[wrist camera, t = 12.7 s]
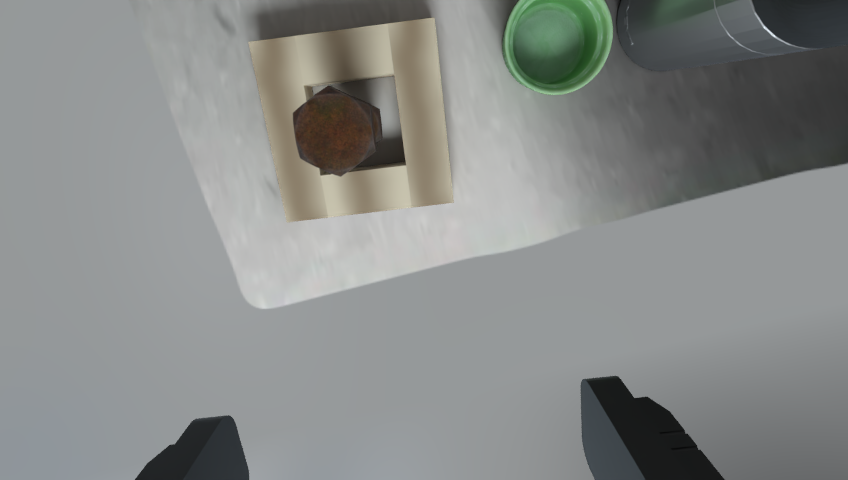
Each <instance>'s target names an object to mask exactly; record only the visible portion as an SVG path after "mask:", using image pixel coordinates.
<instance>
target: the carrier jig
mask: <svg viewBox="0 0 848 480" xmlns="http://www.w3.org/2000/svg"><path fill="white" fill-rule="evenodd" d="M248 43H249V47H250V52H251V57H252V61H253V66H254V71H255V75H256V80H257V85H258V89H259V94H260V99H261V103H262V108H263V113H264V117H265V122H266V127H267V131H268V136H269V141H270V145H271V150H272V155H273V160H274V164H275V169H276V174H277V178H278V183H279V188H280V192H281V197H282V202H283V206H284V211H285V216H286V220H287V222H294V221H302V220H311V219H319V218H328V217H336V216H344V215H353V214H361V213H370V212H378V211H387V210H395V209H403V208H412V207H420V206H429V205H437V204H446V203H454V200H453V191H452V181H451V171H450V162H449V152H448V143H447V133H446V123H445V114H444V104H443V94H442V85H441V75H440V65H439V56H438V46H437V37H436V27H435V17H433V18H426V19H418V20H411V21H403V22H395V23H388V24H380V25H373V26H365V27H358V28H350V29H343V30H335V31H327V32H320V33H312V34H305V35H297V36H290V37H282V38H275V39H267V40H259V41H252V42H248ZM390 76H394V77H395V85H396V92H397V100H398V107H399V115H400V123H401V130H402V138H403V145H404V153H405V161H406V162H399V163H390V164H382V165H374V166H366V167H358V168H353V169H351V170H350V171H349V172H347V173H346V174H344V175H343V176H341V177H339V176H337V175H334V174H331V173H329V172H326V171H324V170H322V169H319V168H317V167H315V166H313V165H311V164H309V163H307V162H305V161H304V160H302V159H300V157H299V153H298V150H297V146H296V141H295V134H294V126H293V112H294V111H295V110H297V109H298V108H299V107H300V106H301V105H302V104H304V103H305V102H306V101H307V100H309V99H310V98H311V97H313V91H312V86H320V85H328V84H336V83H343V82H351V81H359V80H367V79H374V78H382V77H390Z"/></svg>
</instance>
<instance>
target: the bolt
mask: <svg viewBox="0 0 848 480" xmlns="http://www.w3.org/2000/svg"><path fill="white" fill-rule="evenodd" d="M293 126H294V134H295V141H296V146H297V150H298V153H299V157H300V159H302V160H304V161H305V162H307V163H309V164H311V165H313V166H315V167H317V168H319V169H322V170H324V171H326V172H329V173H331V174H334V175H337V176H339V177H341V176H343V175H344V174H346V173H347V172H349V171H350V170H351V169H353V168H354V167H356V166H357V165H358V164H360V163H361V162H362V161H364V160H365V159H367V158H368V157H369V156H371V155H372V154H373V153H375V152H376V151H377V145H376V143H377V142H378V141H380V140H381V139H382V138H383V136H382V124H381V116H380V109H378V108H376V107H374V106H372V105H370V104H368V103H366V102H364V101H362V100H360V99H358V98H356V97H353V96H350V95H348V94H346V93H344V92H342V91H340V90H338V89H335V88H333V87H331V86H327V87H326V88H324V89H323V90H321V91H320V92H318V93H317V94H316V95H314V96H313V97H311V98H310V99H309V100H307V101H306V102H305V103H304V104H302V105H301V106H300V107H299V108H298V109H297V110H295V111H294V112H293Z"/></svg>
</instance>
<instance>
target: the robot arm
mask: <svg viewBox="0 0 848 480" xmlns="http://www.w3.org/2000/svg"><path fill="white" fill-rule="evenodd" d="M617 31H618V37H619V40H620V43H621V46H622V47H623V49H624V51H625V53H626V54H627V55H628V56H629V57H630V59H631V60H632V61H633V62H635V63H636V64H638V65H639V66H641V67H643V68H646V69H649V70H654V71H667V70H675V69H682V68H691V67H698V66H705V65H712V64H719V63H726V62H733V61H740V60H747V59H754V58H761V57H768V56H775V55H782V54H788V53H795V52H801V51H808V50H815V49H822V48H829V47H836V46H842V45H848V0H621V3H620V6H619V10H618V16H617ZM581 415H582V416H581V419H582V442H583V447H584V452H585V456H586V459H587V462H588V465H589V468H590V470H591V472H592V474H593V476H594V479H595V480H724V478H723V477H722V476H721V475H720V473H719V472H718V471H717V470H716V469H715V467H714V466H713V465H712V464H711V462H710V461H709V460H708V459H707V457H706V456H705V455H704V454H703V452H702V451H701V450H698V448H697V445H696V444H695V442H694V441H693V440H692V439H691V437H690V436H689V435H688V434H685V430H684V429H683V428H682V426H681V425H680V424H679V423H678V421H677V420H676V419H675V418H674V416H673V415H672V414H671V413H670V411H668V410H667V409H665V408H664V407H662V406H660V405H659V404H657V403H656V402H654V401H653V400H651V399H650V398H648V397H641V398H634V397H633V396H632V394H631V393H630V392H629V390H628V389H627V388H626V386H625V385H624V383H623V382H622V381H621V379H620V378H619V377H618V376H610V377H600V378H592V379H583V380H582V382H581ZM135 480H249V470H248V466H247V462H246V459H245V455H244V452H243V448H242V445H241V441H240V438H239V435H238V431H237V427H236V424H235V422H234V419H233V418H232V417H231V416H218V417H209V418H201V419H200V418H199V419H195V420H193V421H192V422H191V423H190V425H189V426H188V427H187V429H186V430H185V431H184V433H183V434H182V436H181V437H180V438H179V440H178V441H177V442H176V444H175V445H169V446H168V447H167V448H166V449H164V450H163V451H162V452H161V453H160V454H158V455H157V456H156V457H155V458H154V459H152V460H151V461H150V462H149V463H147V465H146V466H145V467H144V469H143V470H142V471H141V472H140V474H139V475H138V476H137V478H136V479H135Z"/></svg>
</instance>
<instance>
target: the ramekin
mask: <svg viewBox="0 0 848 480" xmlns="http://www.w3.org/2000/svg"><path fill="white" fill-rule="evenodd" d="M612 38H613V25H612V18H611V15H610V11H609V9H608V6H607V4H606V2H605V1H604V0H519V1H518V2H517V3H516V5H515V6H514V8H513V10H512V12H511V14H510V16H509V18H508V21H507V25H506V29H505V32H504V37H503V45H502V49H503V57H504V61H505V64H506V66H507V68H508V70H509V72H510V73H511V75H512V76H513V77H514V78H515V79H516V80H517V81H518V82H519V83H520V84H522V85H524V86H525V87H527V88H530V89H532V90H534V91H536V92H539V93H543V94H548V95H561V94H566V93H570V92H573V91H575V90H577V89H579V88H581V87H583V86H584V85H586V84H587V83H589V82H590V81H591V80H592V79H593V78H594V77H595V76H596V75H597V74H598V72H599V71H600V70H601V68H602V67H603V65H604V63H605V62H606V59H607V57H608V55H609V52H610V49H611V44H612Z"/></svg>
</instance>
